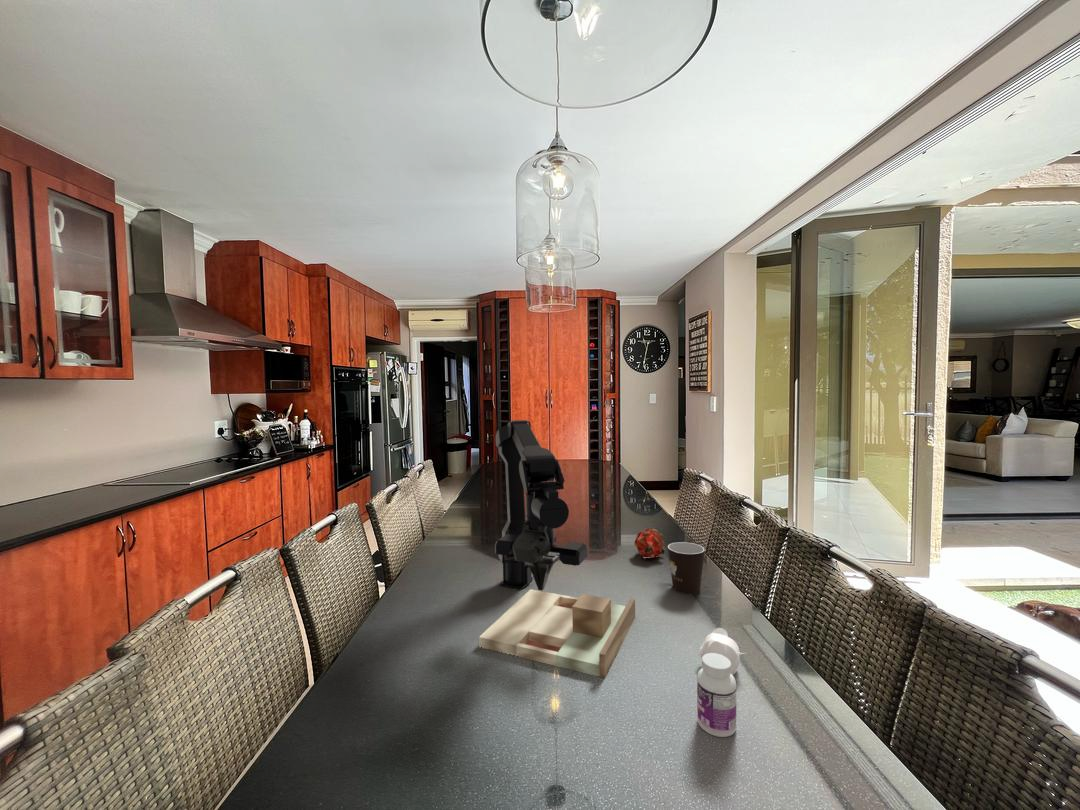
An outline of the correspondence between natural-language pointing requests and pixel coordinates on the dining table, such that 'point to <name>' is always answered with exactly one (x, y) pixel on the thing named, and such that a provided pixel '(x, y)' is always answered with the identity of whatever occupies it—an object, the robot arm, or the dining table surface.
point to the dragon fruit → (650, 543)
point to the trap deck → (557, 633)
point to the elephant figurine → (722, 647)
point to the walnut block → (591, 615)
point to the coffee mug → (686, 566)
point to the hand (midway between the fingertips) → (541, 589)
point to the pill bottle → (716, 696)
